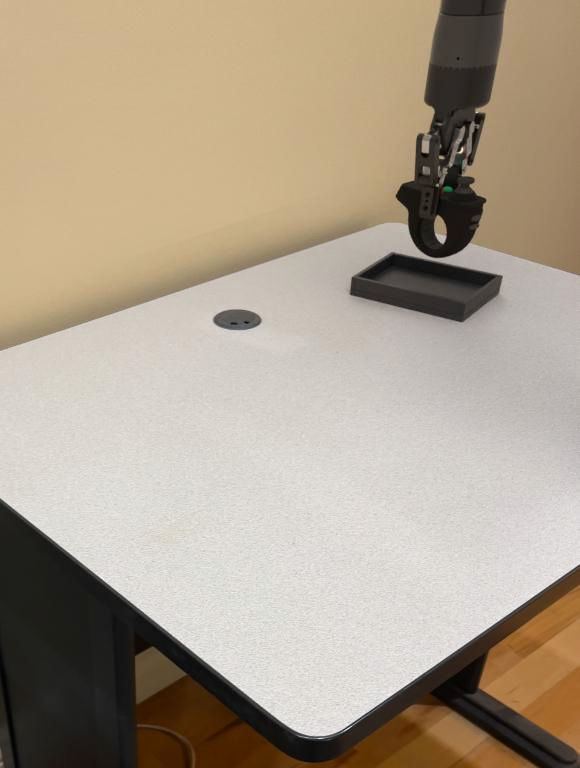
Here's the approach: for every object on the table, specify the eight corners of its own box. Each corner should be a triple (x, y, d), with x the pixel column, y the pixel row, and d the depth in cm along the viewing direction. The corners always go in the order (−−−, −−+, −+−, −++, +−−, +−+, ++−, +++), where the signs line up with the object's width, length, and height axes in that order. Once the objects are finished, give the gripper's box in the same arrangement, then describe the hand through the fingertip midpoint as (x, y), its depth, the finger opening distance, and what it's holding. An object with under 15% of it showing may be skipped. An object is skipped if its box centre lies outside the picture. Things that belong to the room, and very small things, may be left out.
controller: (456, 271, 112) (472, 186, 106) (384, 245, 120) (395, 165, 114) (479, 263, 114) (496, 179, 107) (407, 238, 122) (419, 159, 115)
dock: (499, 293, 119) (503, 275, 118) (462, 322, 113) (465, 303, 112) (389, 268, 128) (391, 251, 126) (349, 294, 122) (351, 276, 120)
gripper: (467, 72, 96) (439, 233, 108) (521, 49, 104) (490, 201, 116) (403, 66, 100) (383, 222, 111) (460, 44, 108) (435, 192, 119)
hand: (437, 211), depth 113 cm, fingers closed on controller, 5 cm apart
